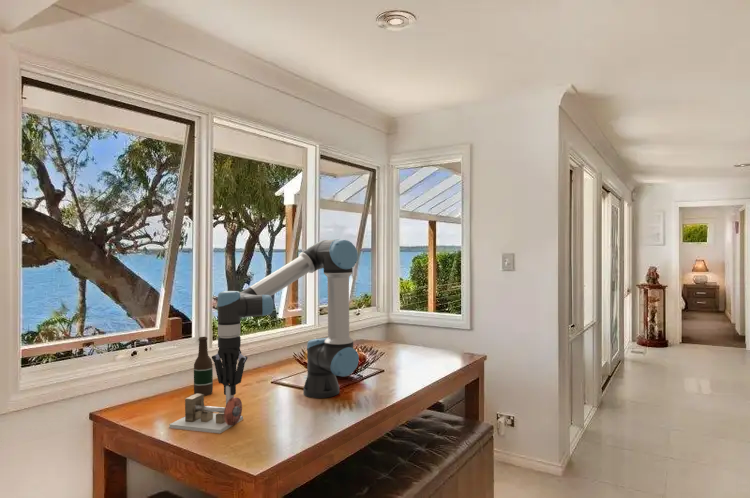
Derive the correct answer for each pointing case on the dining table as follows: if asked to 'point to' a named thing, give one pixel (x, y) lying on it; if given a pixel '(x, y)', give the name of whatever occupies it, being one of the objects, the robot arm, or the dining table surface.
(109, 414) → the dining table surface
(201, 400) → the eye bracket
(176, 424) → the base board
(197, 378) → the beer bottle
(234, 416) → the disc-ended rod
